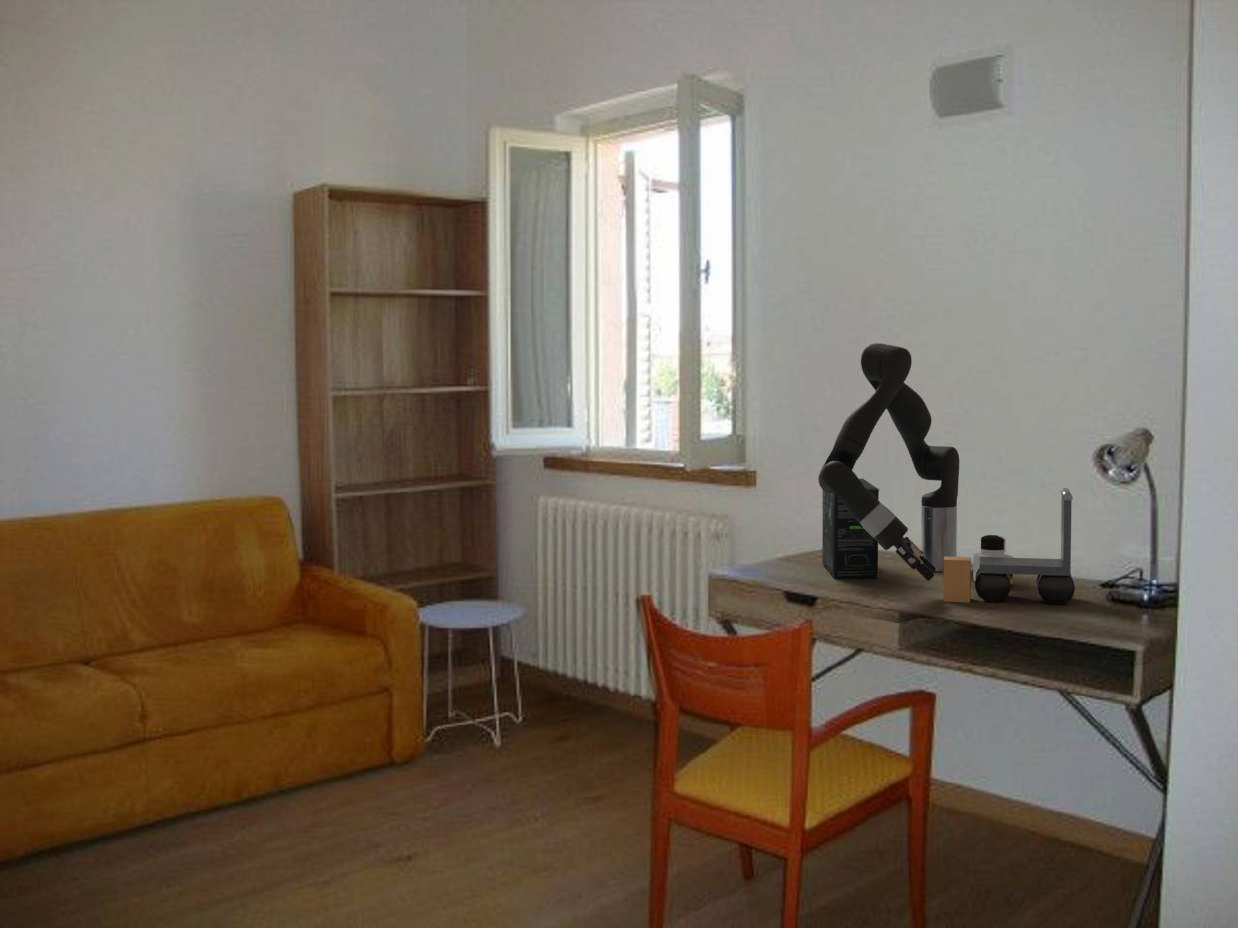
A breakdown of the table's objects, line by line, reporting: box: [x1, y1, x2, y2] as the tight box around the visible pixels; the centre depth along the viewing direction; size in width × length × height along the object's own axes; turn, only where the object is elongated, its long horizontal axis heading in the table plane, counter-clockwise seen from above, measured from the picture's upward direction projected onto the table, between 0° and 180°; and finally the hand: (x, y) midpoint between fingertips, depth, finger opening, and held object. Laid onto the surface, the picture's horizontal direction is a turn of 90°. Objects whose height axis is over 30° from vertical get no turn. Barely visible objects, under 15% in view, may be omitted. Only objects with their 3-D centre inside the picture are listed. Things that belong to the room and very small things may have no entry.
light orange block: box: [943, 556, 972, 603], centre depth 291 cm, size 4×6×10 cm
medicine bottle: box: [972, 534, 1014, 585], centre depth 311 cm, size 7×7×12 cm
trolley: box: [974, 487, 1076, 606], centre depth 289 cm, size 12×22×26 cm, turn 73°
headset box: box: [821, 478, 880, 580], centre depth 330 cm, size 22×12×26 cm, turn 179°
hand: (932, 574), depth 292 cm, fingers open, 8 cm apart
